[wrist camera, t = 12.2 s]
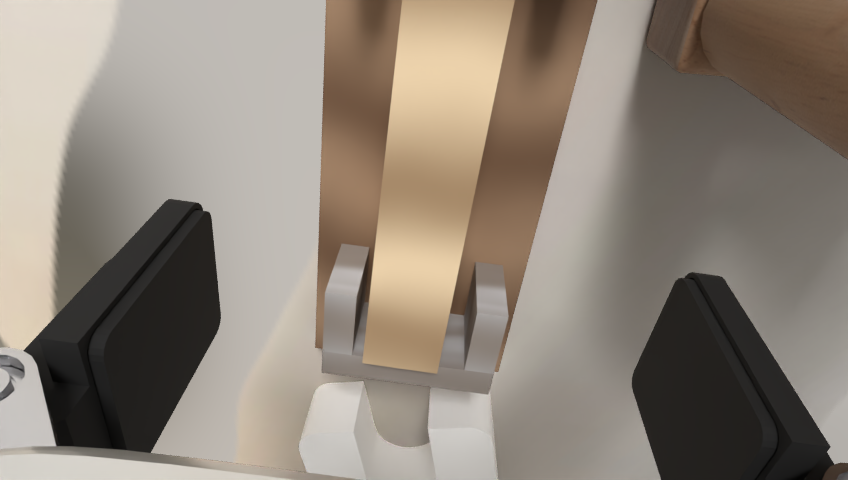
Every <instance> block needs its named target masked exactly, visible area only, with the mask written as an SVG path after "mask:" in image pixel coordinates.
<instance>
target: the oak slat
mask: <svg viewBox="0 0 848 480" xmlns="http://www.w3.org/2000/svg"><path fill="white" fill-rule="evenodd" d="M514 2H515V0H402V6H401V15H400V24H399V34H398V43H397V52H396V61H395V70H394V79H393V88H392V97H391V106H390V115H389V125H388V134H387V143H386V152H385V161H384V170H383V179H382V188H381V197H380V206H379V216H378V225H377V234H376V243H375V252H374V261H373V270H372V279H371V288H370V298H369V307H368V316H367V325H366V334H365V343H364V352H363V361H362V363H365V364H372V365H379V366H386V367H393V368H400V369H407V370H414V371H421V372H428V373H435V374H437V372H438V367H439V362H440V357H441V353H442V348H443V343H444V338H445V333H446V329H447V324H448V319H449V314H450V309H451V305H452V300H453V295H454V290H455V285H456V281H457V276H458V271H459V266H460V261H461V256H462V252H463V247H464V242H465V237H466V232H467V228H468V223H469V218H470V213H471V208H472V204H473V199H474V194H475V189H476V184H477V180H478V175H479V170H480V165H481V160H482V155H483V151H484V146H485V141H486V136H487V131H488V127H489V122H490V117H491V112H492V107H493V103H494V98H495V93H496V88H497V83H498V79H499V74H500V69H501V64H502V59H503V54H504V50H505V45H506V40H507V35H508V30H509V26H510V21H511V16H512V11H513V6H514Z"/></svg>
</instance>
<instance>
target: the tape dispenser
mask: <svg viewBox="0 0 848 480" xmlns="http://www.w3.org/2000/svg"><path fill="white" fill-rule="evenodd" d="M428 434H429V439H430V442H429V443H427V444H424V445H421V446H417V447H402V446H397V445H394V444H392V443H389V442H387V441H386V440H385V439H383V438H382V437H381V436H380V435H379V434H378V432H377V430H376V428H375V424H374V420H373V416H372V412H371V408H370V404H369V400H368V396H367V392H366V388H365V384H364V381H357V382H337V383H327V384H323V385H321V386H319V387H318V388H317V389H316V390H315V392H314V395H313V399H312V402H311V405H310V409H309V412H308V416H307V419H306V422H305V426H304V429H303V432H302V436H301V439H300V442H299V446H298V447H299V452H300V454H301V457H302V460H303V463H304V465H305V468H306V471H307V473H315V474H323V475H330V476H338V477H346V478H353V479H361V480H498V471H497V461H496V450H495V439H494V428H493V418H492V407H491V396H490V390H489V394H488V395H487V394H480V393H472V392H464V391H457V390H449V389H442V388H434V387H430V401H429V416H428Z"/></svg>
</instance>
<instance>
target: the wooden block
mask: <svg viewBox="0 0 848 480" xmlns="http://www.w3.org/2000/svg"><path fill="white" fill-rule="evenodd" d="M646 42H647V47H648V48H649V49H650V50H651V51H652V52H654V53H655V54H656V55H657V56H659V57H660V58H661V59H662V60H663V61H665V62H666V63H667V64H668V65H670V66H671V67H672V68H673V69H675V70H676V71H678V72H680V73H689V74H701V75H713V76H725V77H728V78H729V79H731V80H732V81H734V82H735V83H737V84H738V85H740V86H741V87H743V88H744V89H745V90H747V91H748V92H750V93H751V94H753V95H754V96H756V97H757V98H759V99H760V100H762V101H763V102H764V103H766V104H767V105H769V106H770V107H772V108H773V109H775V110H776V111H778V112H779V113H781V114H782V115H783V116H785V117H786V118H788V119H789V120H791V121H792V122H794V123H795V124H797V125H798V126H800V127H801V128H803V129H804V130H805V131H807V132H808V133H810V134H811V135H813V136H814V137H816V138H817V139H819V140H820V141H822V142H823V143H824V144H826V145H827V146H829V147H830V148H832V149H833V150H835V151H836V152H838V153H839V154H841V155H842V156H843V157H845V158H846V159H848V0H657V3H656V6H655V10H654V14H653V18H652V21H651V25H650V29H649V33H648V37H647V40H646Z"/></svg>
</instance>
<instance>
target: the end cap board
mask: <svg viewBox="0 0 848 480" xmlns="http://www.w3.org/2000/svg"><path fill="white" fill-rule="evenodd" d="M596 4H597V0H515V2H514V6H513V11H512V16H511V21H510V26H509V30H508V35H507V40H506V45H505V50H504V54H503V59H502V64H501V69H500V74H499V79H498V83H497V88H496V93H495V98H494V103H493V107H492V112H491V117H490V122H489V127H488V131H487V136H486V141H485V146H484V151H483V155H482V160H481V165H480V170H479V175H478V180H477V184H476V189H475V194H474V199H473V204H472V208H471V213H470V218H469V223H468V228H467V232H466V237H465V242H464V247H463V252H462V256H461V261H460V266H459V271H458V276H457V281H456V285H455V290H454V295H453V300H452V305H451V309H450V314H449V319H448V324H447V329H446V333H445V338H444V343H443V348H442V353H441V357H440V362H439V367H438V372H437V374H435V373H428V372H421V371H414V370H407V369H400V368H393V367H386V366H379V365H372V364H365V363H362V361H363V352H364V343H365V334H366V325H367V316H368V307H369V298H370V288H371V279H372V270H373V261H374V252H375V243H376V234H377V225H378V216H379V206H380V197H381V188H382V179H383V170H384V161H385V152H386V143H387V134H388V125H389V115H390V106H391V97H392V88H393V79H394V70H395V61H396V52H397V43H398V34H399V24H400V15H401V6H402V0H326V25H325V54H324V55H325V56H324V88H323V121H322V150H321V151H322V152H321V182H320V183H321V184H320V214H319V246H318V278H317V310H316V342H315V348H321V349H323V355H322V373H328V374H336V375H343V376H351V377H359V378H366V379H374V380H381V381H389V382H396V383H404V384H412V385H419V386H427V387H434V388H442V389H449V390H457V391H464V392H472V393H480V394H487V395H488V394H489V390H490V386H491V382H492V378H493V375H494V372H498V370H499V367H500V363H501V359H502V355H503V352H504V348H505V344H506V340H507V337H508V333H509V329H510V326H511V322H512V318H513V314H514V311H515V307H516V303H517V299H518V296H519V292H520V288H521V284H522V281H523V277H524V273H525V269H526V266H527V262H528V258H529V254H530V251H531V247H532V243H533V239H534V236H535V232H536V228H537V224H538V221H539V217H540V213H541V210H542V206H543V202H544V198H545V195H546V191H547V187H548V183H549V180H550V176H551V172H552V168H553V165H554V161H555V157H556V153H557V150H558V146H559V142H560V138H561V135H562V131H563V127H564V123H565V120H566V116H567V112H568V108H569V105H570V101H571V97H572V93H573V90H574V86H575V82H576V79H577V75H578V71H579V67H580V64H581V60H582V56H583V52H584V49H585V45H586V41H587V37H588V34H589V30H590V26H591V22H592V19H593V15H594V11H595V7H596Z"/></svg>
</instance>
